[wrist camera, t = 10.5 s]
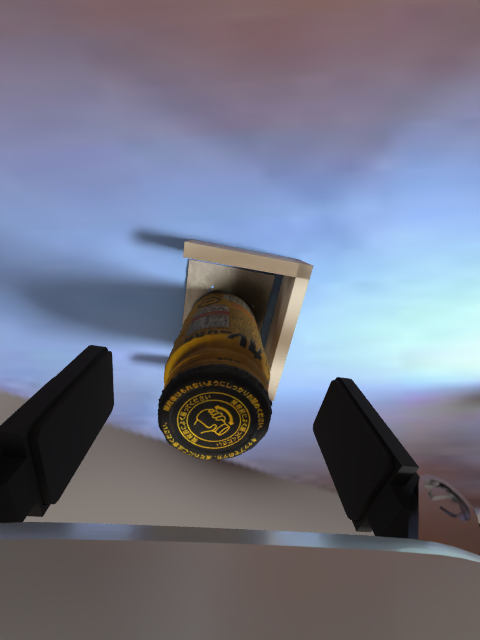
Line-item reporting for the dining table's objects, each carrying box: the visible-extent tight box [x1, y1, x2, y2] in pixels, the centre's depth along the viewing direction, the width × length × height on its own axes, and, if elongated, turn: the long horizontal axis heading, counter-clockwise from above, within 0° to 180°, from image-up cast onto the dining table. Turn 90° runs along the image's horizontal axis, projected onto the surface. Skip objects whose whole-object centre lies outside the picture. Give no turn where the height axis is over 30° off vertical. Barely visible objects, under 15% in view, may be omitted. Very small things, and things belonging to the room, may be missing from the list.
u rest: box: [183, 239, 313, 401], centre depth 20 cm, size 12×9×4 cm
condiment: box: [158, 260, 275, 461], centre depth 16 cm, size 7×8×12 cm
